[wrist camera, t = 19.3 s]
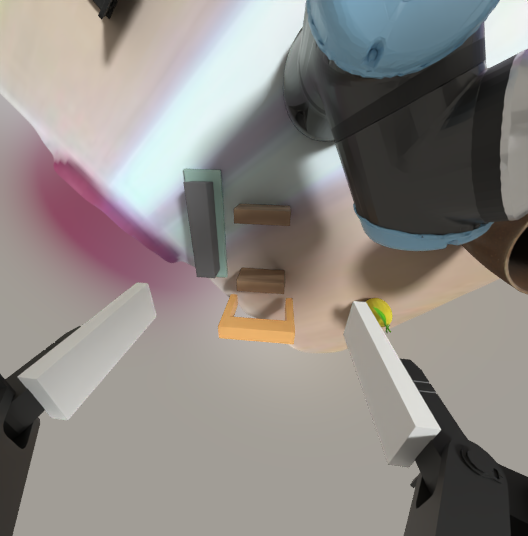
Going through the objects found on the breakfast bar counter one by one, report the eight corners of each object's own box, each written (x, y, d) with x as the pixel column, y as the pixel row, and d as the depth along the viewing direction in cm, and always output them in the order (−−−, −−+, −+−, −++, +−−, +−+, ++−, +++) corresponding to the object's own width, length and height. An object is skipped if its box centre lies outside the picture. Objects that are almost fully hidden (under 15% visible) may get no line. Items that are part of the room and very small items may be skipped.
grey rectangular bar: (192, 180, 39) (183, 182, 35) (212, 181, 38) (205, 183, 35) (203, 268, 47) (196, 276, 44) (220, 269, 47) (215, 278, 43)
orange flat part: (231, 294, 48) (217, 326, 38) (292, 298, 47) (294, 332, 37) (231, 304, 49) (219, 338, 39) (291, 308, 48) (293, 344, 38)
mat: (184, 168, 38) (183, 168, 38) (220, 169, 38) (220, 169, 37) (199, 274, 49) (198, 275, 48) (227, 276, 48) (226, 277, 48)
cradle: (240, 203, 40) (233, 209, 35) (289, 205, 40) (290, 211, 34) (241, 277, 48) (236, 290, 43) (283, 279, 47) (283, 293, 42)
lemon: (361, 288, 47) (379, 316, 38) (386, 290, 47) (411, 320, 38) (353, 311, 50) (369, 342, 41) (377, 313, 50) (398, 345, 41)
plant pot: (408, 234, 40) (477, 270, 26) (471, 156, 34) (610, 148, 20) (467, 263, 42) (562, 312, 28) (538, 195, 36) (710, 213, 21)
